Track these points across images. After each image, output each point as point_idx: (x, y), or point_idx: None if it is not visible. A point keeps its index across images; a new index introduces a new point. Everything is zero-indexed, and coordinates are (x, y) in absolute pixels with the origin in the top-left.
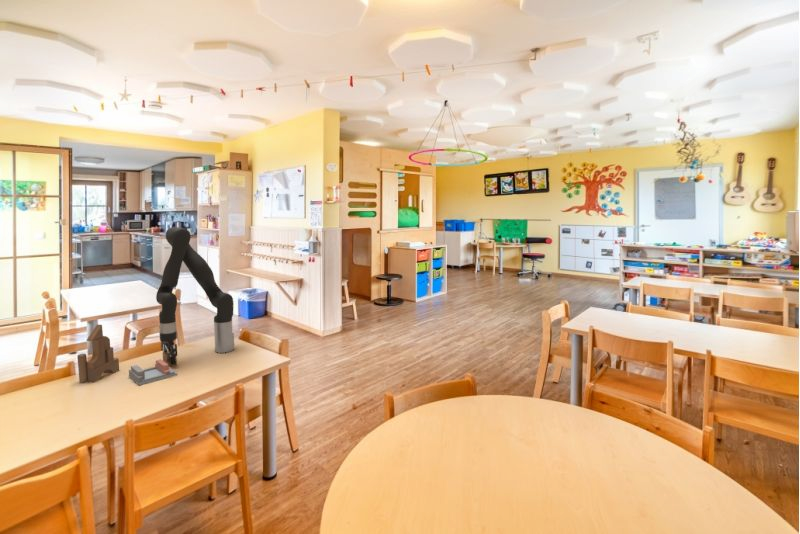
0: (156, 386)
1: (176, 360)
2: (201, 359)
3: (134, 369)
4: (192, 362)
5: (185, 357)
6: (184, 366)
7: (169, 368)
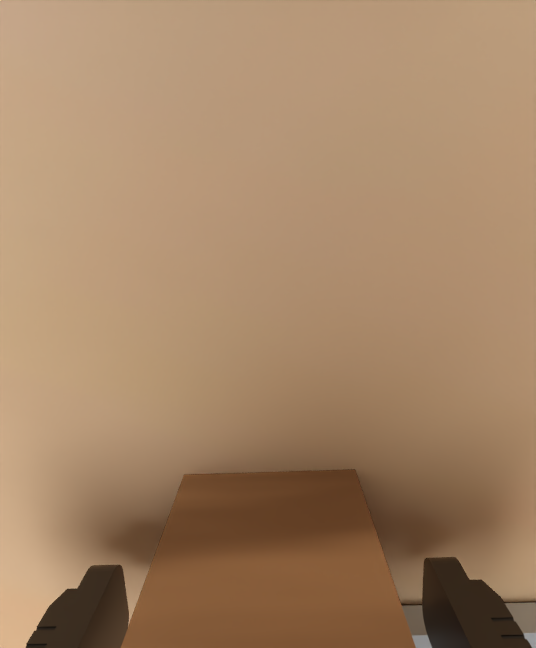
0: None
1: (373, 525)
2: (407, 8)
3: None
4: (440, 227)
5: (58, 225)
6: (526, 404)
7: (533, 644)
